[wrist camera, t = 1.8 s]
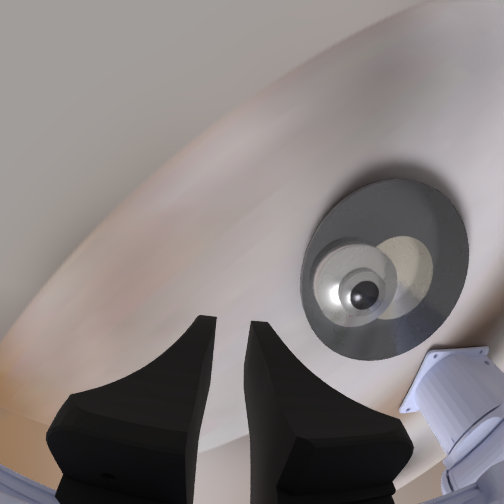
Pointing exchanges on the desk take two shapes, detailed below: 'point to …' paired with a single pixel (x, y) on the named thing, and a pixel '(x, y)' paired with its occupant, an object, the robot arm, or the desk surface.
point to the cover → (352, 281)
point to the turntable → (405, 261)
